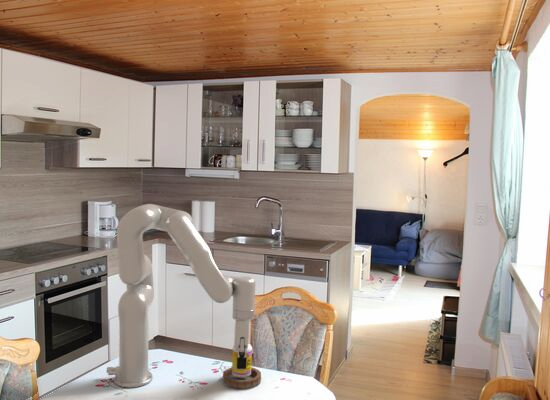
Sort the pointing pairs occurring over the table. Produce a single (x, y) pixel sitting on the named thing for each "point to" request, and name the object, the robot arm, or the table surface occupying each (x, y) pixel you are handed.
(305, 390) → the table surface
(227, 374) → the ring holder
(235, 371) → the supplement bottle
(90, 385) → the table surface
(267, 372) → the table surface
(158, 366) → the table surface
